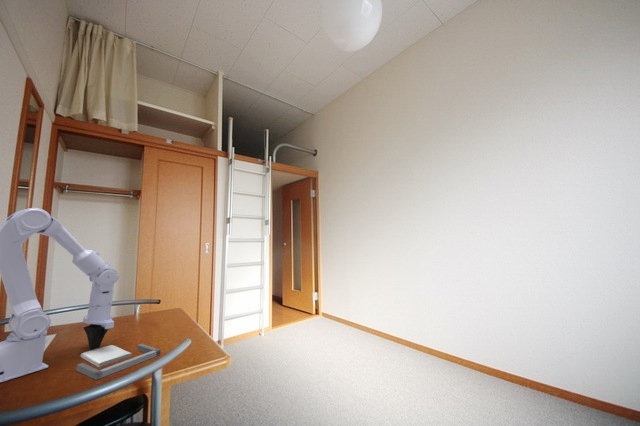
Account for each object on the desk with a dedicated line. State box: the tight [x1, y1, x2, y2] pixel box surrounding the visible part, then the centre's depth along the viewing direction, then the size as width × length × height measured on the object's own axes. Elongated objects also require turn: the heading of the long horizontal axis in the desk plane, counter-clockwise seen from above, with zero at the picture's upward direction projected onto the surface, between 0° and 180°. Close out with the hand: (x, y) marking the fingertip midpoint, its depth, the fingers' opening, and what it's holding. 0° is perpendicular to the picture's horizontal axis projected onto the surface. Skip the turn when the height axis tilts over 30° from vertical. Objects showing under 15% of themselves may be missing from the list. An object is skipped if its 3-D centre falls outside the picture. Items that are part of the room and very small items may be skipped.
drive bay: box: [76, 343, 161, 381], centre depth 72 cm, size 16×10×2 cm, turn 155°
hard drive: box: [80, 344, 133, 368], centre depth 76 cm, size 2×8×12 cm
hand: (94, 348), depth 79 cm, fingers closed
